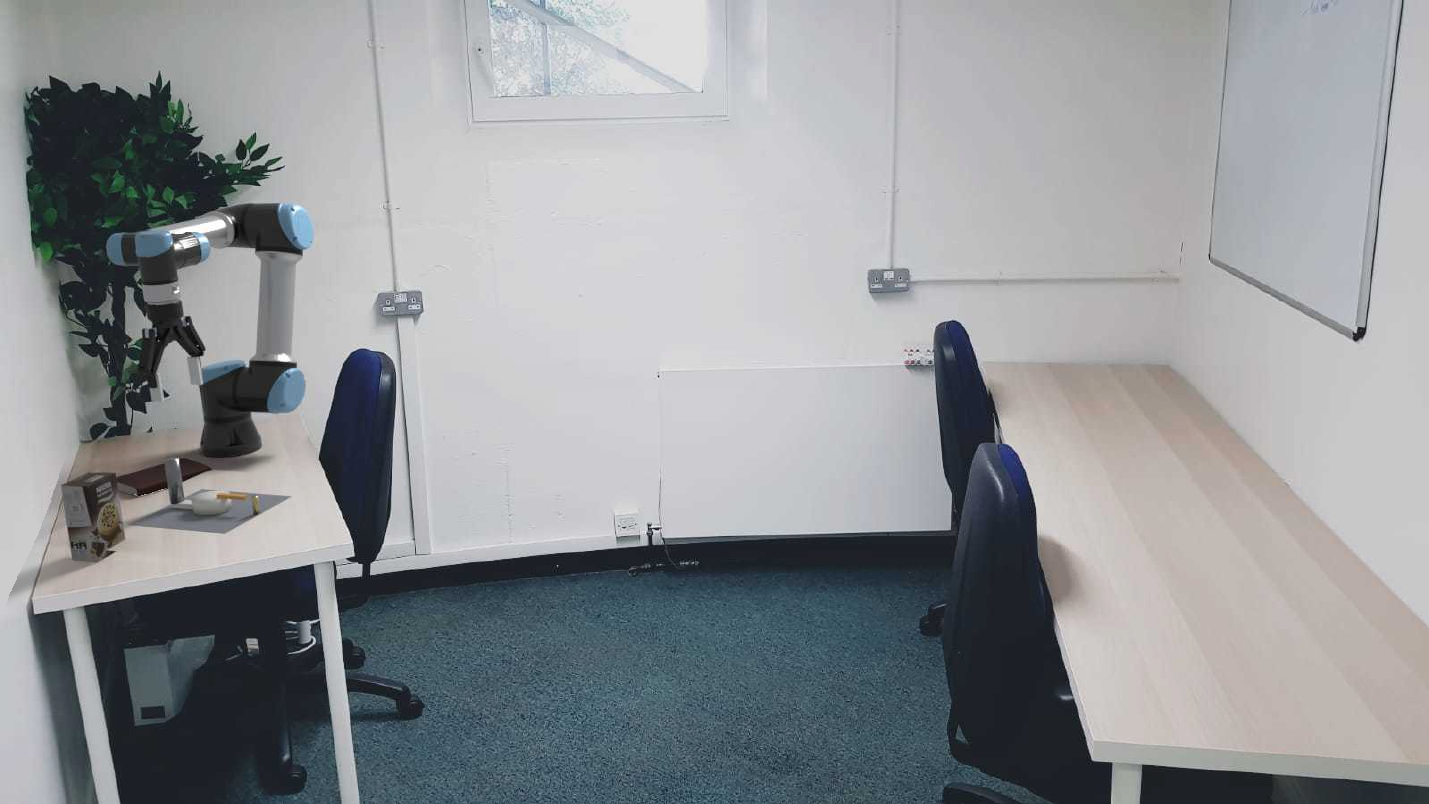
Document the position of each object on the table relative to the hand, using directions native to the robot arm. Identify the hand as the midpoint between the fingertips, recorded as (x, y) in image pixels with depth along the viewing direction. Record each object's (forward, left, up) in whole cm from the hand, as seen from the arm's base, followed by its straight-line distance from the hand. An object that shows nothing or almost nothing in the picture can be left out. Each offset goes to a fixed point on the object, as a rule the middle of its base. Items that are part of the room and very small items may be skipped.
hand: (178, 392), depth 275 cm
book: (-8, -14, -26) cm, 30 cm away
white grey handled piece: (+11, +14, -23) cm, 29 cm away
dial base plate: (+11, +14, -25) cm, 31 cm away
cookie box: (+35, +5, -25) cm, 43 cm away
